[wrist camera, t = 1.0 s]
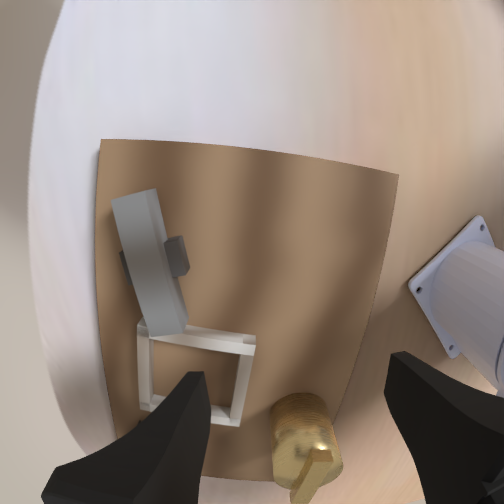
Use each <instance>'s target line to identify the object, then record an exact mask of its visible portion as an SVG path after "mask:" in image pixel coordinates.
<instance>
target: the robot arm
mask: <svg viewBox="0 0 504 504" xmlns="http://www.w3.org/2000/svg"><path fill="white" fill-rule="evenodd" d="M480 226H482V227H481V230H480ZM408 287H409V289H410V291H411V292H412V294H413V296H414V297H415V299H416V300H417V302H418V304H419V305H420V307H421V309H422V310H423V312H424V314H425V315H426V317H427V319H428V320H429V322H430V324H431V326H432V327H433V329H434V331H435V333H436V334H437V336H438V338H439V340H440V342H441V343H442V345H443V347H444V349H445V351H446V352H447V354H448V356H449V357H450V358H451V359H454V358H456V357H457V356H458V355H459V354H460V353H462V354H463V355H464V356H465V357H466V358H467V359H468V360H469V361H470V362H471V363H472V364H473V365H474V367H475V368H476V369H477V370H478V371H479V372H480V373H481V374H482V375H483V376H484V377H485V378H486V379H487V380H488V381H489V382H490V383H491V385H492V386H493V387H495V388H496V389H497V390H498V392H497V394H496V396H495V395H492V394H488V393H485V392H482V391H480V390H477V389H475V388H472V387H470V386H467V385H465V384H463V383H461V382H459V381H457V380H455V379H453V378H451V377H449V376H447V375H445V374H443V373H442V372H440V371H438V370H436V369H435V368H433V367H431V366H430V365H428V364H426V363H425V362H423V361H421V360H420V359H418V358H416V357H415V356H413V355H411V354H409V353H407V352H405V351H403V352H397V353H392V354H391V357H390V363H389V368H388V374H387V379H386V384H385V389H384V395H385V398H386V402H387V405H388V407H389V410H390V413H391V415H392V417H393V419H394V421H395V423H396V425H397V427H398V429H399V431H400V433H401V435H402V437H403V439H404V441H405V443H406V445H407V447H408V449H409V451H410V453H411V455H412V457H413V460H414V462H415V465H416V468H417V471H418V475H419V478H420V481H421V485H422V488H423V492H424V496H425V501H426V504H504V251H502V250H500V249H498V248H496V247H495V245H494V242H493V240H492V237H491V235H490V233H489V230H488V228H487V225H486V223H485V221H484V219H483V217H482V216H479V215H476V216H475V217H474V218H473V219H472V220H471V221H470V222H469V223H468V224H467V225H466V226H465V227H464V229H463V230H462V231H461V232H460V233H459V234H458V235H457V236H456V237H455V238H454V239H453V240H452V241H451V242H450V243H449V244H448V245H447V246H446V247H445V248H444V249H443V250H442V251H441V252H440V253H438V254H437V255H436V256H435V257H434V258H433V259H432V260H431V261H430V262H429V263H428V264H427V265H426V266H425V267H424V268H423V269H421V270H420V271H419V272H418V273H417V274H416V275H415V276H414V277H413V278H412V279H411V280H410V281H409V283H408ZM418 287H420V290H419V291H418V292H416V290H417V288H418ZM210 425H211V405H210V400H209V395H208V390H207V385H206V380H205V374H204V371H188V372H187V373H186V374H185V375H184V377H183V378H182V379H181V380H180V381H179V383H178V384H177V385H176V386H175V387H174V389H173V390H172V391H171V392H170V393H169V395H168V396H167V397H166V398H165V399H164V400H163V401H162V402H161V403H160V404H159V406H158V407H157V408H156V409H155V410H153V411H152V412H151V413H150V414H149V415H148V416H147V417H146V418H145V419H144V420H143V421H142V422H141V423H140V424H138V425H137V426H136V427H135V428H133V429H132V430H131V431H129V432H128V433H127V434H125V435H124V436H122V437H121V438H119V439H118V440H116V441H114V442H113V443H111V444H110V445H108V446H106V447H104V448H103V449H101V450H99V451H97V452H95V453H93V454H90V455H88V456H86V457H84V458H81V459H79V460H76V461H73V462H70V463H67V464H65V465H62V466H58V467H56V468H55V470H54V471H53V473H52V475H51V477H50V479H49V481H48V483H47V484H46V487H45V488H44V490H43V492H42V495H41V498H42V500H43V502H44V504H198V494H199V484H200V477H201V472H202V468H203V463H204V458H205V454H206V449H207V444H208V439H209V434H210Z"/></svg>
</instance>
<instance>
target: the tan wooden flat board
mask: <svg viewBox="0 0 504 504" xmlns="http://www.w3.org/2000/svg"><path fill="white" fill-rule="evenodd" d="M398 178H399V175H398V174H394V173H389V172H385V171H381V170H376V169H371V168H367V167H362V166H357V165H352V164H347V163H342V162H336V161H331V160H325V159H320V158H314V157H308V156H302V155H295V154H288V153H282V152H274V151H267V150H259V149H251V148H243V147H233V146H224V145H213V144H202V143H189V142H174V141H155V140H126V139H101V143H100V153H99V164H98V176H97V192H96V216H95V266H96V291H97V306H98V319H99V330H100V339H101V348H102V356H103V363H104V370H105V377H106V383H107V389H108V395H109V401H110V406H111V411H112V416H113V421H114V425H115V430H116V434H117V439H119V438H121V437H122V436H124V435H125V434H127V433H128V432H129V431H131V430H132V429H133V428H135V427H136V426H137V425H138V424H140V423H141V422H142V421H143V420H144V419H145V418H146V417H147V416H148V415H149V414H150V413H151V412H152V411H153V410H155V409H156V408H157V407H158V406H159V404H160V403H161V402H162V401H163V400H164V399H165V398H166V397H167V396H168V395H169V393H170V392H171V391H172V390H173V389H174V387H175V386H176V385H177V384H178V383H179V381H180V380H181V379H182V378H183V377H184V375H185V374H186V373H187V372H188V371H204V374H205V380H206V385H207V390H208V395H209V400H210V405H211V425H210V434H209V439H208V444H207V449H206V454H205V458H204V463H203V468H202V472H201V476H208V477H216V478H226V479H237V480H251V481H275V480H274V477H273V462H272V447H271V432H270V418H269V413H270V410H271V408H272V406H273V405H274V404H275V403H276V402H277V401H278V400H279V399H281V398H283V397H285V396H287V395H290V394H293V393H301V392H306V393H312V394H315V395H317V396H319V397H321V398H322V399H323V400H324V402H325V403H326V406H327V410H328V413H329V416H330V420H331V423H332V425H333V422H334V420H335V417H336V415H337V412H338V410H339V407H340V404H341V402H342V399H343V396H344V394H345V391H346V388H347V385H348V383H349V380H350V377H351V374H352V371H353V368H354V365H355V362H356V359H357V356H358V353H359V350H360V347H361V343H362V340H363V337H364V333H365V330H366V327H367V323H368V320H369V316H370V313H371V309H372V305H373V301H374V298H375V294H376V290H377V286H378V282H379V278H380V273H381V269H382V265H383V260H384V256H385V251H386V247H387V242H388V237H389V232H390V226H391V221H392V216H393V210H394V204H395V198H396V192H397V185H398Z"/></svg>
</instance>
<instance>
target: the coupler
mask: <svg viewBox="0 0 504 504" xmlns="http://www.w3.org/2000/svg"><path fill="white" fill-rule="evenodd" d="M269 418H270V432H271V447H272V462H273V477H274V480H275V482H276V483H277V484H278V485H280V486H281V487H284V488H287V489H291V491H290V501H291V504H308V503H309V502H310V500H311V499H312V497H313V496H314V494H315V492H316V491H317V489H318V488H319V487H320V486H323V485H326V484H328V483H330V482H331V481H333V480H334V479H336V478H337V477H338V476H339V475H340V473H341V472H342V470H343V462H342V459H341V455H340V452H339V448H338V444H337V441H336V437H335V434H334V430H333V427H332V423H331V420H330V416H329V413H328V410H327V406H326V403H325V402H324V400H323V399H322V398H321V397H319V396H317V395H315V394H312V393H306V392H301V393H293V394H290V395H287V396H285V397H283V398H281V399H279V400H278V401H277V402H276V403H275V404H274V405H273V406H272V408H271V410H270V413H269Z"/></svg>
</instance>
